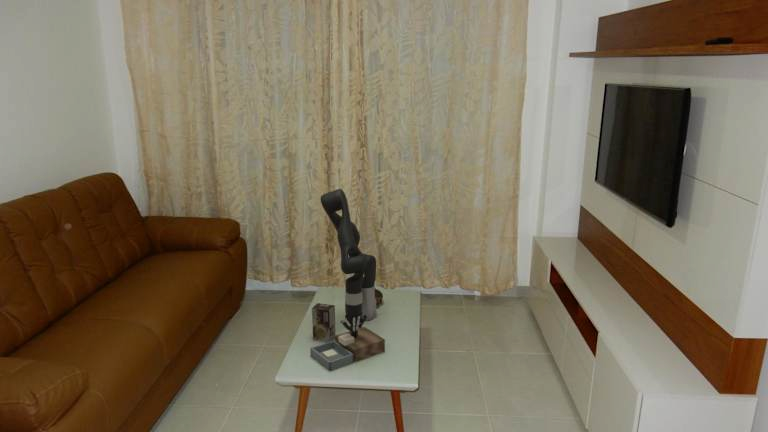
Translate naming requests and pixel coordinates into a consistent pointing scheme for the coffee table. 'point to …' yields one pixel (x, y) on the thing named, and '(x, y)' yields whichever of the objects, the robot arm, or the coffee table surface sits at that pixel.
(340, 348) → the box
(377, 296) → the decorative turtle
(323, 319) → the coffee box
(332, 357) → the front tile
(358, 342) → the block
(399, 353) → the coffee table surface
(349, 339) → the rear tile
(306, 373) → the coffee table surface
